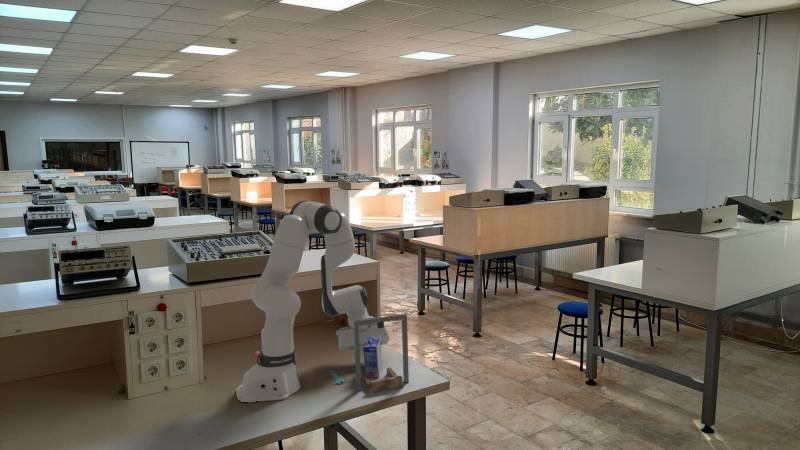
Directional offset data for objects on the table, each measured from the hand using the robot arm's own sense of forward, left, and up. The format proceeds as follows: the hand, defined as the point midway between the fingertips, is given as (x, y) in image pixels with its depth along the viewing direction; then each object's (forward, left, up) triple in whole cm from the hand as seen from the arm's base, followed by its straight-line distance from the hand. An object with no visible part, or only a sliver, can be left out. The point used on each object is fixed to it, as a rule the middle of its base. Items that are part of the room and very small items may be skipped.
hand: (367, 356), depth 217 cm
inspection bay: (0, -16, -4) cm, 16 cm away
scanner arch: (0, -19, -4) cm, 19 cm away
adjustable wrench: (-14, -5, -5) cm, 15 cm away
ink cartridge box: (0, -6, -4) cm, 7 cm away
